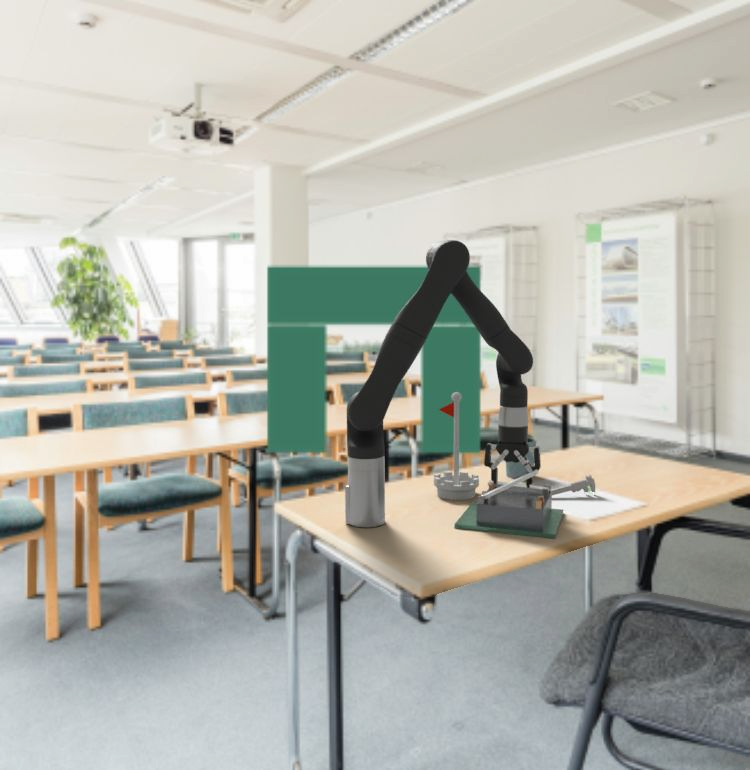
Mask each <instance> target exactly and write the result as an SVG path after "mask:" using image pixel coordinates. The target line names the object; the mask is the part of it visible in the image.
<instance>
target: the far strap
mask: <svg viewBox="0 0 750 770" xmlns="http://www.w3.org/2000/svg"><path fill="white" fill-rule="evenodd" d="M507 483H508V482H506V481H497V483H493V481H492V480H491V479H490V480H489V481H488V482H487V486H488V487H489V484H494V487H500V486H502V485H505V484H507ZM543 488H546V489H549V490H550V488H549V487H545V486H542V485H541V486H540V485H532V484H530V486H529V487H528V486H526V484H525V483H524V484H523V483H522V484H521V483H518V484H516V485H514V486H512V487H510V488H509V489H517V490H525V491H533V492H542V493H543Z"/></svg>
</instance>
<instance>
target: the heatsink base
mask: <svg viewBox="0 0 750 770" xmlns="http://www.w3.org/2000/svg"><path fill="white" fill-rule="evenodd" d="M551 485H552V484H550V483H545V484H544V487H549V488H550V490H549V489H546V488H543V493H542V492H533V491H525V490H517V489H509V488H508V489H506V490H504V491H501V492H499V493H497V494H495V495H493V496H491V497H489V498H487V499H485V496H482V494H486V493H488V492H490V491H492V490H494V489H496V488H498V487H494V484H489V486H488V489H487V490H482V491H481V495H478V497H477V501H472V502H471V503H470V505H469V506H468V507H467V508H466V510H465V511H463V513H462V514H461V516H460V517H459V518H458V519H457V521H455V522H454V529H461V530H462V529H463V530H471V531H480V532H488V533H496V534H497V533H499V534H500V533H501V534H508V535H517V536H519V535H520V536H526V537H536V538H537V537H538V538H546V539H553V540H555V539H556V537H557V534H558V531H559V528H560V525H561V522H562V520H563V517H564V514H563V511H564V510H565V509H562V508H553V507H552V504H553V502H552V500H553V499H552V496H553V495H552V491H551V488H552V487H551ZM562 516H563V517H562Z"/></svg>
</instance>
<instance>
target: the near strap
mask: <svg viewBox="0 0 750 770" xmlns="http://www.w3.org/2000/svg"><path fill="white" fill-rule="evenodd" d="M538 473H539V470H537V469H536V470H534V471H532V472H530V473H528V474H525V475H523V476H521V477H519V478H517V479H512V480H511V481H509V482H507V484H505V485H502V486H500V487H498V488H496V489H494V490H492V491H490V492H488V493H486V494H482V493H481V496H485V499H487V498H489V497H491V496H493V495H495V494H497V493H499V492H501V491H504V490H506V489H508V488H510V487H512V486H514V485H516V484H521V483H522V482H526V480H527V479H529V478H531V477H533V478H534V477H536V476H538Z"/></svg>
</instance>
